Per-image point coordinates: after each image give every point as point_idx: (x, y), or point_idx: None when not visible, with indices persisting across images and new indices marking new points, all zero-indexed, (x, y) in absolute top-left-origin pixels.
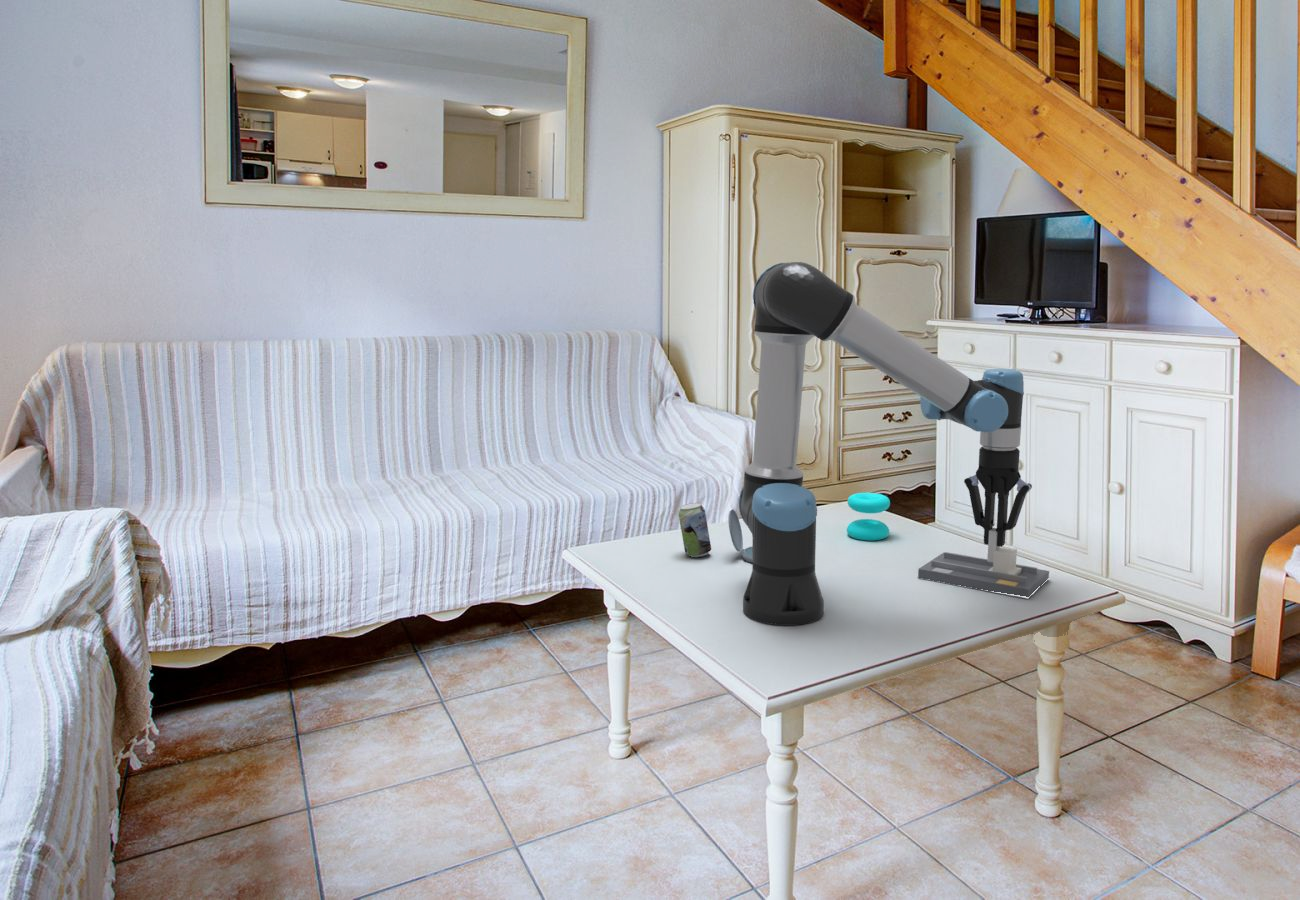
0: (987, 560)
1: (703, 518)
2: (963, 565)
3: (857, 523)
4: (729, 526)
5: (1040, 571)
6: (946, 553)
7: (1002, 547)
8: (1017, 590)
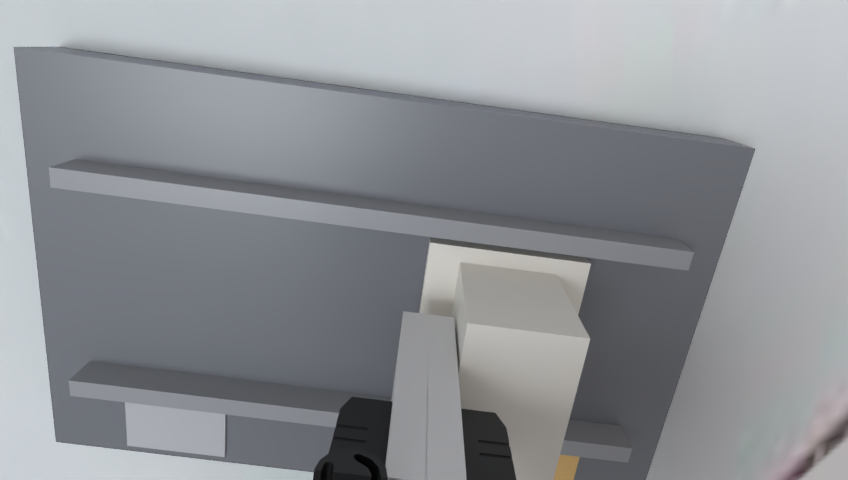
0: (392, 392)
1: None
2: (241, 280)
3: None
4: None
5: (699, 185)
6: (71, 189)
7: (476, 346)
8: None
